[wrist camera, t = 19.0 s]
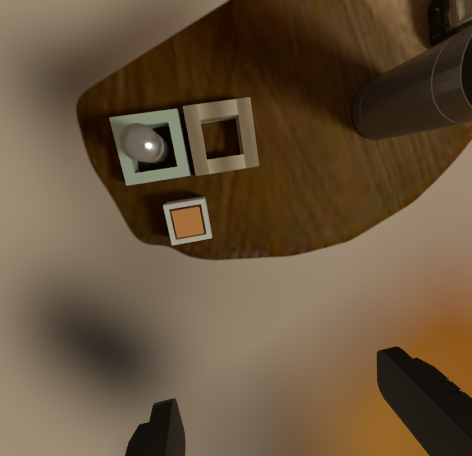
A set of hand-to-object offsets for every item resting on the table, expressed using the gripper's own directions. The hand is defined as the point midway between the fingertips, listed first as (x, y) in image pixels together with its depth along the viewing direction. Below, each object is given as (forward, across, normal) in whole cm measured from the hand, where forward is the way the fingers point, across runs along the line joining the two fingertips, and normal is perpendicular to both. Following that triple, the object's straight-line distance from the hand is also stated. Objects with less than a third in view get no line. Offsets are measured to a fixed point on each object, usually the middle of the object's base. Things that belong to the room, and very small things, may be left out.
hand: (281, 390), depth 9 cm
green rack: (+32, +8, -13) cm, 36 cm away
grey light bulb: (+32, +8, -13) cm, 36 cm away
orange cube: (+31, +5, -2) cm, 32 cm away
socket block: (+32, -2, -13) cm, 35 cm away
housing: (+32, +5, -2) cm, 33 cm away
